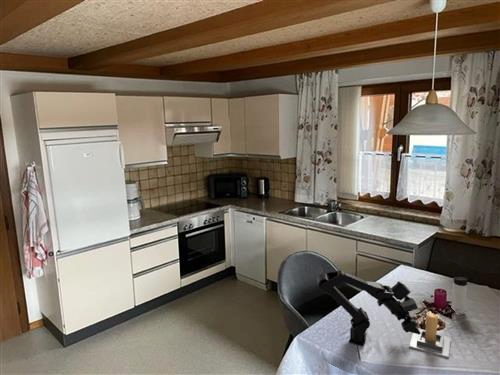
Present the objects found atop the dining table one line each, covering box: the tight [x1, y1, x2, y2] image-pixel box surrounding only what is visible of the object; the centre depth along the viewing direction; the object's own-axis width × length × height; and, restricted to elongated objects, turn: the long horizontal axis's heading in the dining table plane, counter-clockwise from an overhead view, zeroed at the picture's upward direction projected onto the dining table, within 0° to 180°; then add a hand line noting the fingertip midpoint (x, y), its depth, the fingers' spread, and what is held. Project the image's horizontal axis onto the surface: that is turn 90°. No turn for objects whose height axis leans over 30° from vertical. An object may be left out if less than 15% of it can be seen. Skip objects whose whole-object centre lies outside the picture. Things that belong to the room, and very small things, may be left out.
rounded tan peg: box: [425, 313, 439, 344], centre depth 170 cm, size 5×5×13 cm
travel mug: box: [450, 276, 468, 316], centre depth 194 cm, size 6×7×20 cm
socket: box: [409, 328, 452, 359], centre depth 171 cm, size 16×16×3 cm
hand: (416, 327), depth 171 cm, fingers open, 9 cm apart
